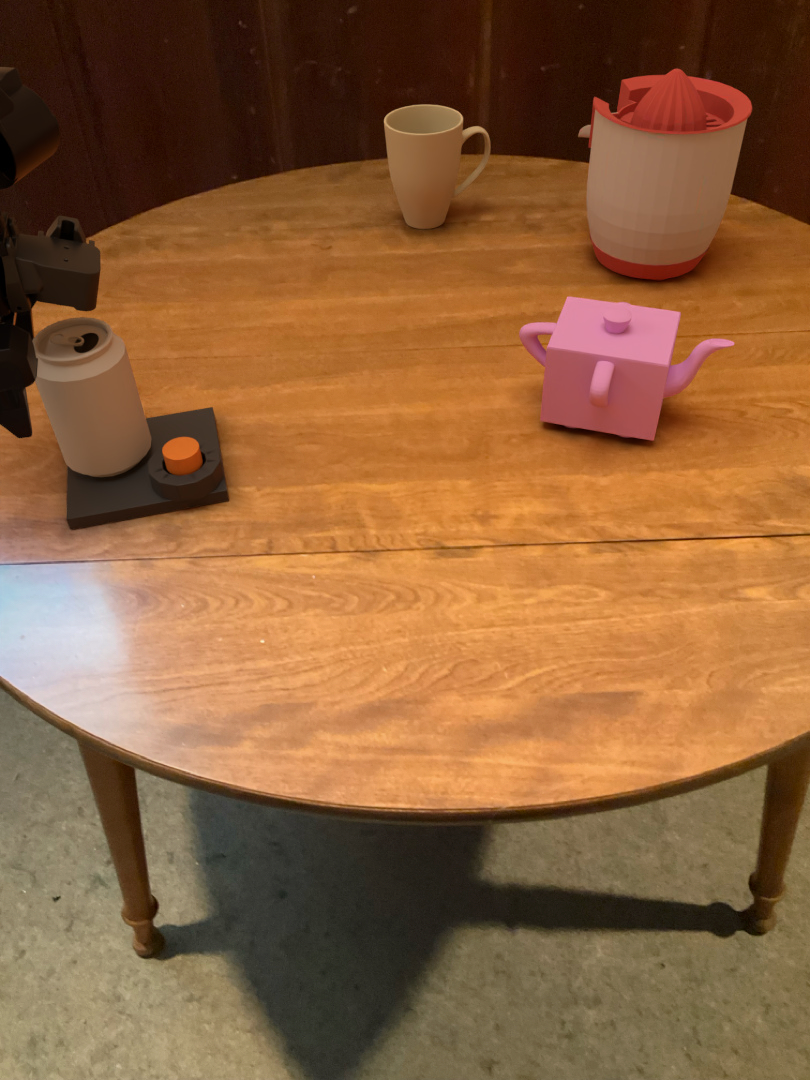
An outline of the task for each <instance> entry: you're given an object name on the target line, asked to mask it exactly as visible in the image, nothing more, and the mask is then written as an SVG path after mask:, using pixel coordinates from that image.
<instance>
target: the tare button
mask: <svg viewBox="0 0 810 1080" xmlns="http://www.w3.org/2000/svg"><path fill="white" fill-rule="evenodd" d="M162 453H163V457H164V460H165V464H166V468H167V470H168V471H169V472H170V473H171V474H173V475H177V476H182V475H188V474H192V473H194V472H195V471H197V470H199V469H200V468H201V466H202V464H203V460H202V455H201V451H200V447H199V443H198V442H197V441H196V440H195V439H193V438H190V437H178V438H174V439H172V440H170V441H168V442H167V443H166V444H165V445H164V447H163V449H162Z"/></svg>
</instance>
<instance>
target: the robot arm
mask: <svg viewBox="0 0 810 1080" xmlns="http://www.w3.org/2000/svg"><path fill="white" fill-rule="evenodd" d="M60 143H61V129H60V124H59V121H58V118H57V116H56V115H55V114H54V113H53V111H52V110H51V108H50V106H48V104H47V103H46V102H45V100H44V99H43V98H42V97H41V96H40V95H39V94H38V93H37V92H35V90H33V89H31V88H30V87H28V86H27V85H25V84H24V83H23V82H22V79H21V75H20V71H19V69H18V68H16V67H9V66H0V190H5V189H8V188H10V187H12V186H13V185H15V184H16V183H18V182H19V181H20V180H22V179H23V178H24V177H25V176H27V175H28V174H29V173H31V172H32V171H33V170H35V169H36V168H38V167H39V166H40V165H41V164H43V163H44V162H46V161H47V160H48V159H49V158H50V157H52V156H53V155H54V154H55V153H56V152H57V150H58V148H59V145H60ZM37 231H38V232H37V233H38V234H37V235H33V234H24V233H20V230H19V228H18V225H17V222H16V218H15V217H10V214H9V212H8V211H5V212H2V209H1V208H0V426H2V427H3V428H4V429H5V430H7V431H8V432H9V433H11V434H12V435H13V436H15V437H16V438H17V439H27V438H32V436H33V427H32V419H31V412H30V406H29V401H28V400H29V399H28V395H27V389H26V388H28V387H30V386H32V385H33V384H34V383H35V380H36V377H37V366H38V358H36V354H35V349H34V345H33V342H32V341H33V339H34V337H35V328H34V327H35V326H34V319H33V317H34V316H33V308H34V306H35V305H36V303H37V302H39V303H42V304H43V303H45V304H51V305H56V306H63V307H68V308H69V307H70V308H74V309H75V310H76V311H80V312H92V311H94V310H95V309H96V308H97V303H98V294H99V287H100V286H99V285H100V279H101V269H102V268H101V267H102V266H101V265H102V264H101V250H100V248H98V247H97V246H96V241H95V240H92V239H89V240H88V243H87V237H86V234H85V233H84V229H83V228H82V225H81V223H80V221H79V219H78V218H75V217H69V216H64V215H58V216H57V217H56V218H55V219H54V221H53V222H52V224H51V225H50V226H49V228H48V229H47V231H46V233H45V231H43V230H37Z"/></svg>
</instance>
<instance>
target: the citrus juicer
mask: <svg viewBox="0 0 810 1080" xmlns="http://www.w3.org/2000/svg"><path fill="white" fill-rule="evenodd" d="M616 109H617V110H616V112H611V110H610V103H608V102H606V101H604V100H603V99H601V98H599V97H597V96H594V97H593V99H592V110H591V111H592V112H591V121H590V124H587V125H585V126H583V127H581V128H580V129H579V132H578V134H577V137H578V138H586V139H588V146H587V147H588V149H589V148H590V155H589V162H588V172H587V181H586V197H585V199H586V200H585V202H586V204H585V205H586V216H587V217H586V218H587V224H588V229H589V239H590V243H591V246H592V248H593V252H594V255H595V257H596V259H597V261H598V262H599V263H600V264H601V265H603V267H605V268H607V269H609V270H610V271H612V272H615V273H617V274H619V275H623V276H626V277H630V278H635V279H636V278H637V279H642V280H643V279H644V280H653V281H665V280H666V279H672V278H676V277H680V276H683V275H685V274H687V273H690V272H692V271H693V270H694V269H695V268H696V267H697V266H698V264H699V263H700V261H701V260H702V259H703V257H704V256H705V255H706V254H707V252H708V251H709V249H710V246H711V243H712V241H713V240H714V238H715V236H716V234H717V232H718V230H719V227H720V226H721V223H722V220H723V218H724V215H725V213H726V210H727V207H728V203H729V200H730V197H731V193H732V189H733V184H734V179H735V175H736V171H737V167H738V163H739V158H740V154H741V153H740V152H741V149H742V145H743V141H744V140H743V139H744V135H745V131H746V126H747V121H748V118H750V117H751V115H752V112H753V105H752V101H751V100H750V98H749V97H748V96H747V95H746V94H745V93H743V92H742V91H740V90H739V89H737V88H734V87H733V86H731V85H729V84H725V83H722V82H720V81H716V80H712V79H707V78H702V77H696V76H689V75H687V74H686V73H685V72H684V71H683V70H682V69H680V68H673V69H671V70H669V72H668V73H666V74H651V75H649V74H648V75H640V76H633V77H629V78H625V79H621V81H620V89H619V95H618V101H617V107H616Z"/></svg>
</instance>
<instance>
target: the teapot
mask: <svg viewBox="0 0 810 1080" xmlns="http://www.w3.org/2000/svg"><path fill="white" fill-rule="evenodd" d="M681 316H682V313H681V311H676V310H669V309H663V308H657V307H656V308H655V307H650V306H649V307H648V306H643V305H634V304H631V303H629V302H626V301H619V302H614V301H605V300H598V299H592V298H584V297H578V296H567V297H566V299H565V302H564V304H563V306H562V309H561V312H560V314H559V316H558V319H557V321H556V322H550V321H549V322H548V321H539V322H537V321H536V322H528V323H527V324H524V325H523V326H522V327H521V328H520V330H519V332H518V337H519V339H520V342H521V344H522V346H523V347H524V349H525V350H526V351H527V352H528V353H529V354H530V355H531V356H532V358H533V359H535V361H536V362H538V363H539V364H540V365H541V366H542V367H543V368H544V373H543V385H542V395H541V406H540V416H539V421H540V422H544V423H549V424H556V425H561V426H564V427H566V428H569V429H584V430H589V431H595V432H600V433H606V434H613V435H617V436H618V437H621V438H627V439H628V438H636V439H642V440H647V441H652V442H653V441H655V437H656V432H657V430H658V429H657V428H658V425H659V419H660V414H661V412H662V411H661V410H662V406H663V403H664V399H666V398H670V397H673V396H676V395H678V394H680V393H682V392H683V391H685V390H686V389H687V387H688V386H689V385H690V384H691V383H692V382H693V380H694V379H695V377H696V375H697V374H698V372H699V370H700V369H701V367H702V366H703V364H704V363H705V361H706V360H708V358H709V357H710V356H711V355H712V354H714V353H715V352H717V351H719V350H720V351H721V350H723V349H727V348H731V347H733V346H734V345H735V342H734V341H733V340H730V339H726V338H707V339H705V340H703V341H701V342H700V343H698V344H697V345H695V347H694V348H693V350H692V351H691V353H690V354H689V355H688V357H687V358H686V359H684V360H683V361H682V362H680V363H675V364H672V361H673V357H674V356H673V355H674V352H675V345H676V341H677V336H678V331H679V326H680V321H681ZM541 335H547V336H550V339H549V342H548V344H547V346H546V349H545V347H544V346H543V345H542V343H541V341H540V340H539V336H541Z"/></svg>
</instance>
